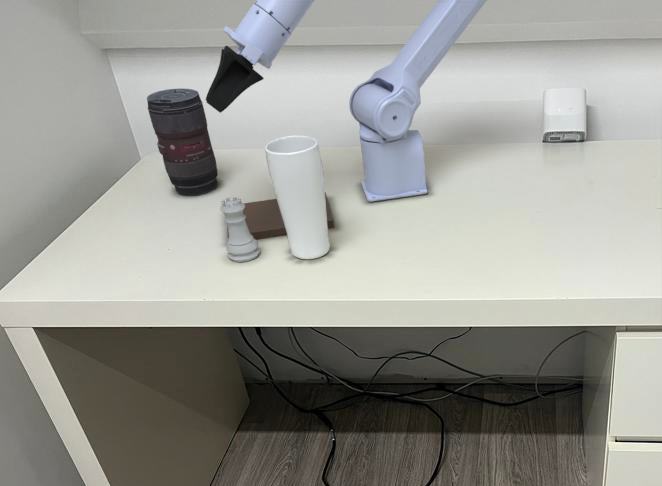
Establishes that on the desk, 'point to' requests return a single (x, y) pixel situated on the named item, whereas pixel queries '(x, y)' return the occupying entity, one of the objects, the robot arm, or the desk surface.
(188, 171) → the camera lens
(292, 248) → the drinking glass
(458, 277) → the desk surface
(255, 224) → the walnut board
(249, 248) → the rook chess piece
